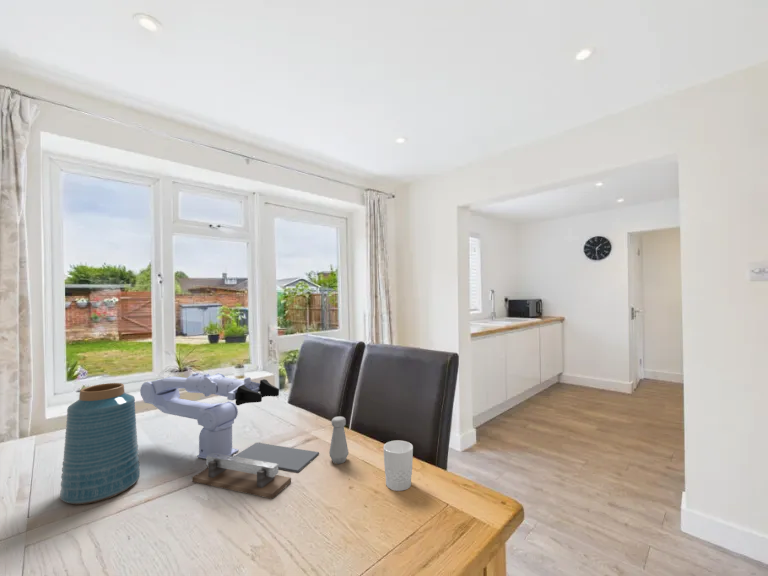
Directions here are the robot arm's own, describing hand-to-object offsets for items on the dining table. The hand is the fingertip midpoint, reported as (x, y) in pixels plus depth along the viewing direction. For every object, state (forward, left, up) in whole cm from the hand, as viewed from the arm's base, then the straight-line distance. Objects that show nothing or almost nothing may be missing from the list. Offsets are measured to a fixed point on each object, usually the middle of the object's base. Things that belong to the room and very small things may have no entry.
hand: (269, 395), depth 104 cm
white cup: (+39, +2, -21) cm, 45 cm away
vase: (-35, -24, -21) cm, 47 cm away
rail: (-2, -10, -17) cm, 20 cm away
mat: (-2, +5, -21) cm, 21 cm away
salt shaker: (+18, +9, -21) cm, 29 cm away
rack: (-2, -10, -21) cm, 23 cm away
